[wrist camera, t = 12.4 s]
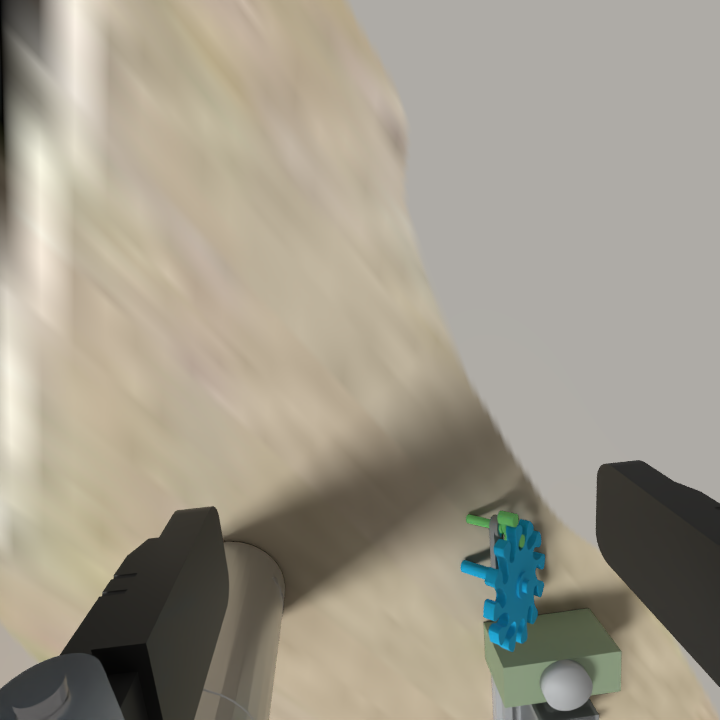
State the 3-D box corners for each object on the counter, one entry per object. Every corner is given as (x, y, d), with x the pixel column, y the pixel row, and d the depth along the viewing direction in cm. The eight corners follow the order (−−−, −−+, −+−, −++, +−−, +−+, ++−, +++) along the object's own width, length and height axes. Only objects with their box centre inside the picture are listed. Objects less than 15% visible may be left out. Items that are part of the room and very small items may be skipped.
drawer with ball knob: (489, 738, 47) (512, 807, 41) (483, 622, 44) (507, 678, 38) (588, 724, 47) (625, 789, 41) (588, 608, 44) (628, 661, 38)
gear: (554, 615, 42) (504, 683, 35) (492, 593, 46) (436, 650, 39) (548, 494, 41) (497, 537, 34) (486, 482, 45) (427, 519, 38)
